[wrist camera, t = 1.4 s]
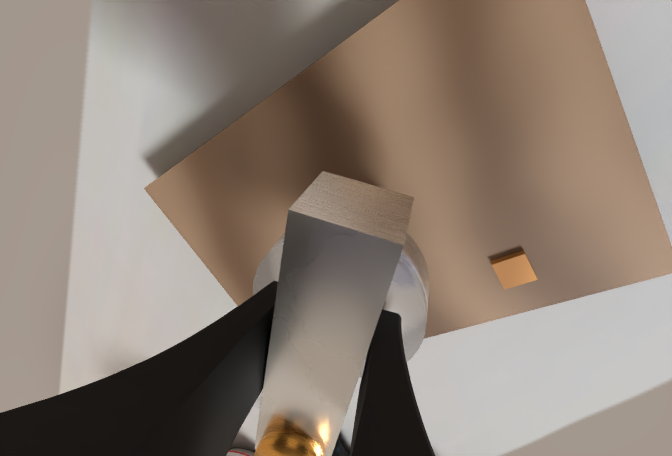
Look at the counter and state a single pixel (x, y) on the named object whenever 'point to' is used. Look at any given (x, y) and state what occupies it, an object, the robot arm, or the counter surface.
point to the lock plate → (445, 158)
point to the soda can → (239, 452)
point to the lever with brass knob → (334, 307)
